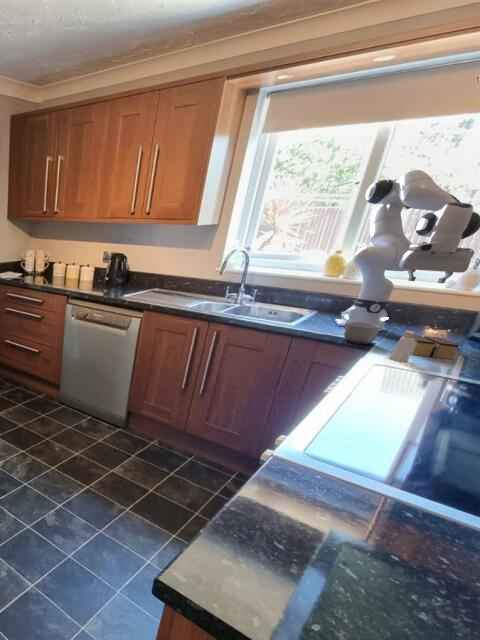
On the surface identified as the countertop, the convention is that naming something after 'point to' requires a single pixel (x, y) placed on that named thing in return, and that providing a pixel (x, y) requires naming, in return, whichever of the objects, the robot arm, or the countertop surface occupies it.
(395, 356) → the pepper shaker
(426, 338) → the two-panel tan box
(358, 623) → the countertop surface
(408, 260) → the robot arm
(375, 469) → the countertop surface
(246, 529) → the countertop surface
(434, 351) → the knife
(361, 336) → the teacup
